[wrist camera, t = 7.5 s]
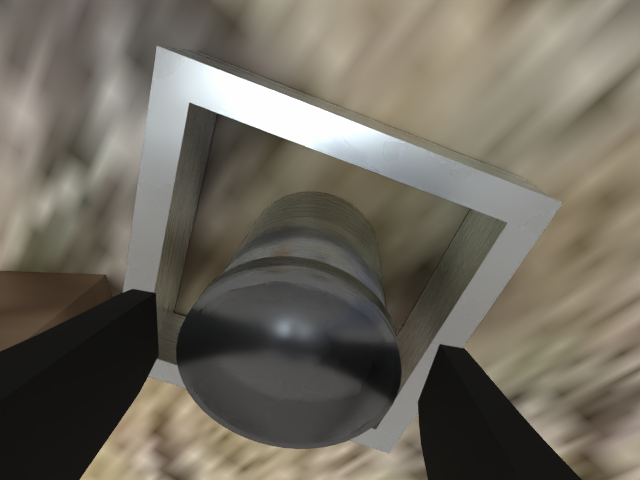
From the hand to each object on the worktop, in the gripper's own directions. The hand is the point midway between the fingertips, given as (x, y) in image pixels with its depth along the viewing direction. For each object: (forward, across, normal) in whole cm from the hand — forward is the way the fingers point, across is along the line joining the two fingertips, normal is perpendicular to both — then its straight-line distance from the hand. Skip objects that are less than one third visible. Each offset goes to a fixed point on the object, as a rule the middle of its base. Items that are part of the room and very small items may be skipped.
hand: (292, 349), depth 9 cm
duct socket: (+5, 0, 0) cm, 5 cm away
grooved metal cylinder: (+5, 0, 0) cm, 5 cm away
